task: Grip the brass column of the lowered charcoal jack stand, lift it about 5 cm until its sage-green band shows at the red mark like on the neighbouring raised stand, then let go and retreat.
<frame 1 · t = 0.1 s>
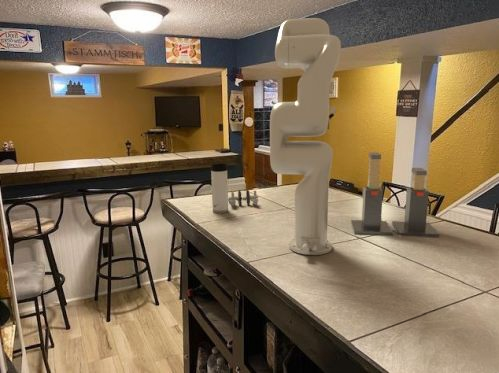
hand: (313, 130, 150), 31 cm above the counter, fingers open, 9 cm apart
column a: (416, 198, 125), point 11 cm above the counter, slide at 0.0 cm
travel mug: (220, 211, 153), on the counter
sleeve a: (414, 230, 127), on the counter
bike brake: (242, 203, 167), on the counter
column b: (373, 182, 126), point 16 cm above the counter, slide at 5.0 cm
sleeve b: (370, 228, 130), on the counter
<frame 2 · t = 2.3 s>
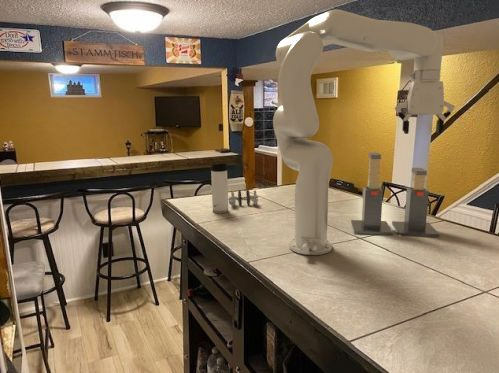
hand: (422, 133, 121), 32 cm above the counter, fingers open, 9 cm apart
nothing on the counter moved.
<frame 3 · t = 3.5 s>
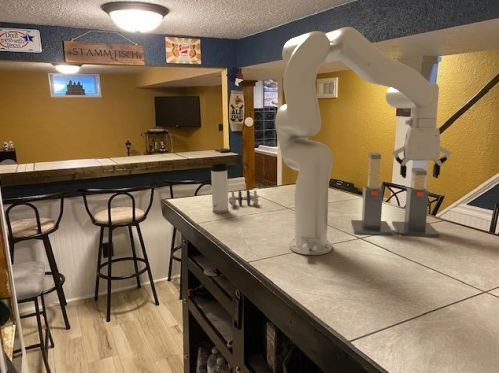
hand: (419, 177, 124), 18 cm above the counter, fingers open, 9 cm apart
nothing on the counter moved.
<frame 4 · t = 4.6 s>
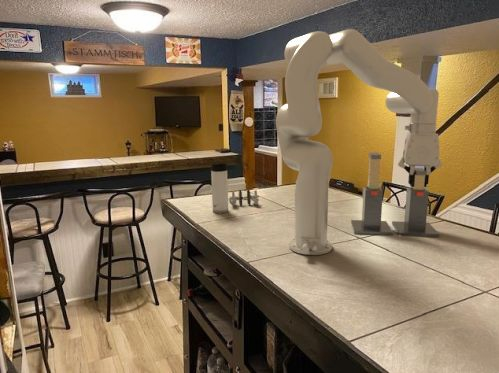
hand: (417, 185, 124), 15 cm above the counter, fingers closed on column a, 3 cm apart
column a: (416, 198, 125), point 11 cm above the counter, slide at 0.0 cm, touching gripper
everything else where it was.
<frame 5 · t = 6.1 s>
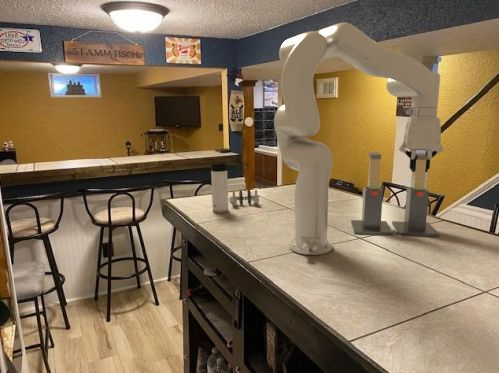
hand: (419, 170, 123), 20 cm above the counter, fingers closed on column a, 3 cm apart
column a: (418, 183, 124), point 16 cm above the counter, slide at 4.9 cm, touching gripper
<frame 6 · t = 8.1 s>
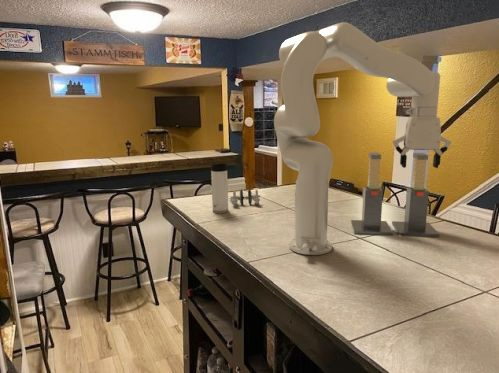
hand: (419, 167, 123), 21 cm above the counter, fingers open, 9 cm apart
column a: (418, 183, 124), point 16 cm above the counter, slide at 5.0 cm
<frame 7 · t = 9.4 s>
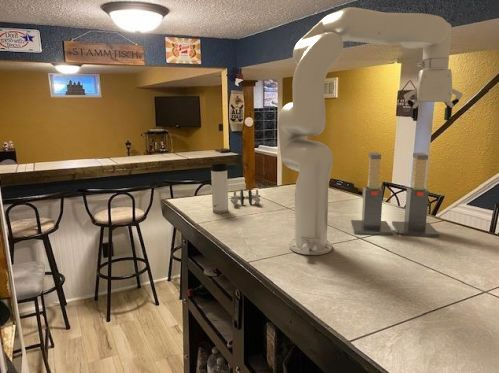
hand: (430, 120, 124), 36 cm above the counter, fingers open, 9 cm apart
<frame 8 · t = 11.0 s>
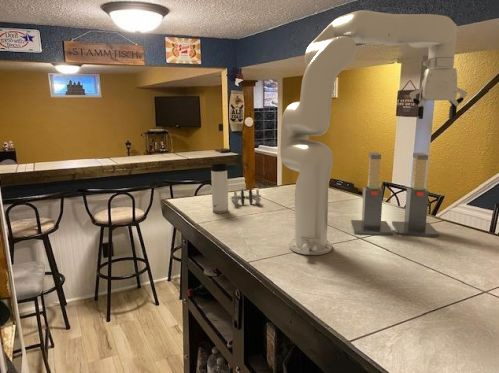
hand: (435, 118, 126), 36 cm above the counter, fingers open, 9 cm apart
at the end: column a slide at 5.0 cm; the gripper is holding nothing; column b slide at 5.0 cm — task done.
